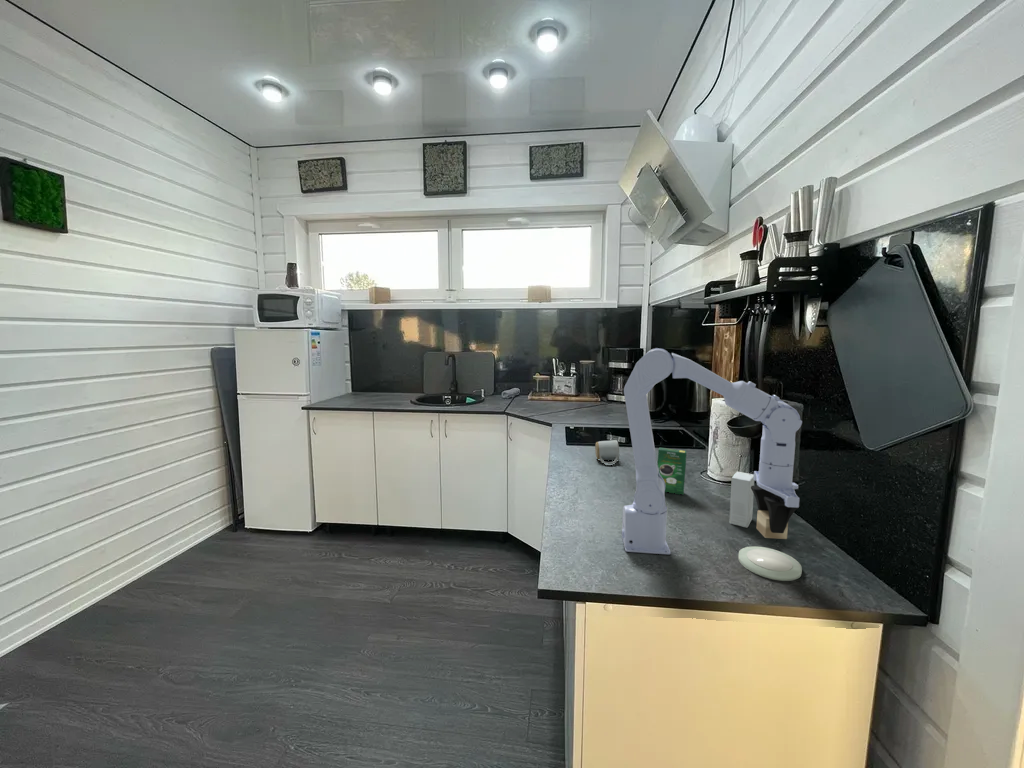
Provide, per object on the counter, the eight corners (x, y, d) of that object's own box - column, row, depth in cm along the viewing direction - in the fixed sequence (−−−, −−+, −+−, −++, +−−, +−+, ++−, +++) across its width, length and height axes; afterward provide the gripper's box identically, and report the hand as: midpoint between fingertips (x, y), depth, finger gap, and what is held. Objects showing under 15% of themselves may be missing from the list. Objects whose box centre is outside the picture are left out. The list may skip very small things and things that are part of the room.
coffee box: (685, 492, 123) (687, 449, 121) (684, 495, 120) (686, 452, 119) (656, 488, 126) (658, 446, 125) (655, 491, 124) (657, 449, 122)
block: (765, 537, 82) (766, 518, 81) (756, 528, 86) (757, 510, 85) (786, 539, 81) (788, 519, 81) (777, 529, 85) (778, 511, 85)
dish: (751, 578, 80) (751, 572, 80) (730, 549, 91) (730, 544, 91) (813, 583, 78) (814, 577, 78) (784, 552, 89) (784, 547, 89)
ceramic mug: (594, 457, 158) (594, 437, 157) (615, 457, 158) (616, 437, 157) (598, 466, 148) (598, 445, 147) (621, 466, 147) (622, 446, 146)
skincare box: (733, 515, 107) (736, 470, 106) (752, 519, 105) (755, 474, 103) (728, 523, 103) (731, 477, 101) (747, 528, 100) (750, 481, 99)
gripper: (819, 475, 74) (813, 546, 76) (780, 452, 88) (775, 512, 90) (777, 473, 75) (772, 543, 77) (745, 451, 89) (741, 510, 91)
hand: (771, 526), depth 83 cm, fingers closed on block, 4 cm apart
